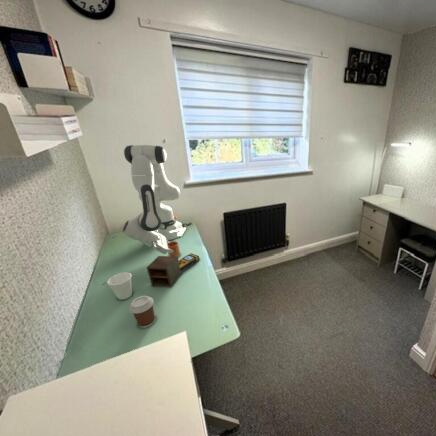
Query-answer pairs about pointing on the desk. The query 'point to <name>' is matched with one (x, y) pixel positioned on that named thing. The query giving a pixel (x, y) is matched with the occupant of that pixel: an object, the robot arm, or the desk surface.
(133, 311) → the coffee cup
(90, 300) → the desk surface
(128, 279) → the cup
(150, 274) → the shelf
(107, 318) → the desk surface
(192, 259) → the electronic device
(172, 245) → the tumbler
